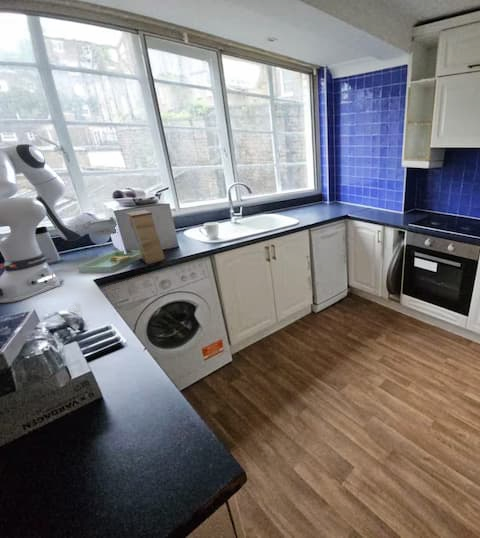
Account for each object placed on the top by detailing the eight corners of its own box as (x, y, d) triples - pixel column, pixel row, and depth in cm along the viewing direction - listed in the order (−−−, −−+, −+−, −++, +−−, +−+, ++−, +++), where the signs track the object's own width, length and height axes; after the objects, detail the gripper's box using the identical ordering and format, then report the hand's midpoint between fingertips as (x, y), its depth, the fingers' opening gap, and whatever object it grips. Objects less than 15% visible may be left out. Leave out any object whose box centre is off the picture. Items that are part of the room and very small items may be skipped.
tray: (112, 272, 146) (110, 266, 144) (79, 272, 147) (76, 266, 145) (146, 255, 167) (145, 250, 166) (117, 255, 168) (115, 250, 167)
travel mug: (52, 264, 157) (34, 228, 149) (42, 264, 159) (25, 228, 151) (65, 260, 163) (49, 225, 155) (55, 259, 164) (39, 224, 156)
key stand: (166, 259, 160) (151, 212, 150) (148, 264, 154) (131, 215, 144) (158, 255, 167) (144, 210, 156) (141, 260, 160) (125, 213, 150)
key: (131, 258, 153) (130, 256, 152) (120, 262, 149) (119, 259, 149) (119, 257, 164) (118, 254, 163) (108, 260, 160) (107, 258, 160)
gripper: (72, 228, 155) (71, 218, 145) (119, 220, 169) (121, 211, 159) (78, 239, 155) (77, 230, 145) (124, 230, 170) (126, 221, 160)
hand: (101, 220), depth 153 cm, fingers open, 8 cm apart
